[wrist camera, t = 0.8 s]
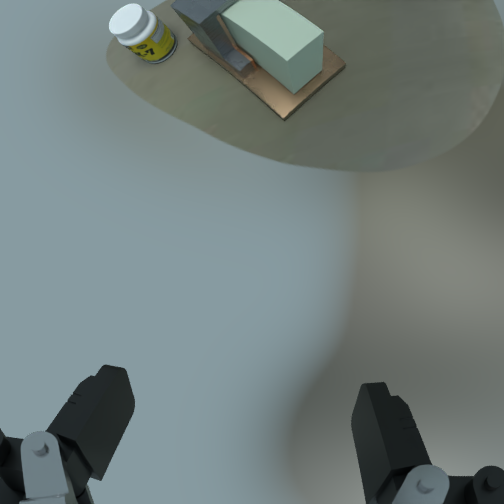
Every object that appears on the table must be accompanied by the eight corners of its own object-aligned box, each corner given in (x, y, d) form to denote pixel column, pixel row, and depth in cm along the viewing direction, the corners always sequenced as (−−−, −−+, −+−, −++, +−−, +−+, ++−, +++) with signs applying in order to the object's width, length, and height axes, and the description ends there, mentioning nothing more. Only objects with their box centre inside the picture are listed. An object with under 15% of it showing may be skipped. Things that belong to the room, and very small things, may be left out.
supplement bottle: (137, 62, 31) (98, 37, 23) (151, 31, 30) (116, 1, 22) (169, 66, 31) (132, 37, 22) (184, 33, 30) (152, -1, 21)
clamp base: (344, 67, 27) (355, 16, 17) (284, 121, 29) (270, 85, 19) (246, -4, 27) (223, -58, 17) (191, 42, 30) (150, -2, 19)
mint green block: (322, 70, 26) (323, 31, 19) (293, 94, 27) (287, 61, 20) (265, 26, 27) (251, -16, 19) (238, 49, 28) (216, 10, 20)
